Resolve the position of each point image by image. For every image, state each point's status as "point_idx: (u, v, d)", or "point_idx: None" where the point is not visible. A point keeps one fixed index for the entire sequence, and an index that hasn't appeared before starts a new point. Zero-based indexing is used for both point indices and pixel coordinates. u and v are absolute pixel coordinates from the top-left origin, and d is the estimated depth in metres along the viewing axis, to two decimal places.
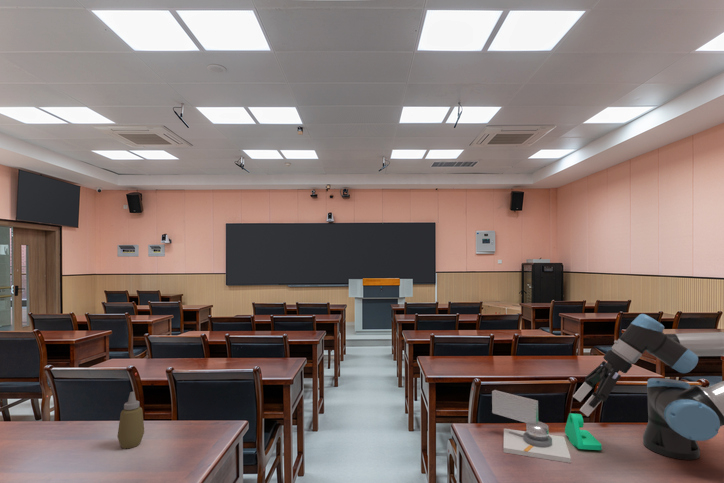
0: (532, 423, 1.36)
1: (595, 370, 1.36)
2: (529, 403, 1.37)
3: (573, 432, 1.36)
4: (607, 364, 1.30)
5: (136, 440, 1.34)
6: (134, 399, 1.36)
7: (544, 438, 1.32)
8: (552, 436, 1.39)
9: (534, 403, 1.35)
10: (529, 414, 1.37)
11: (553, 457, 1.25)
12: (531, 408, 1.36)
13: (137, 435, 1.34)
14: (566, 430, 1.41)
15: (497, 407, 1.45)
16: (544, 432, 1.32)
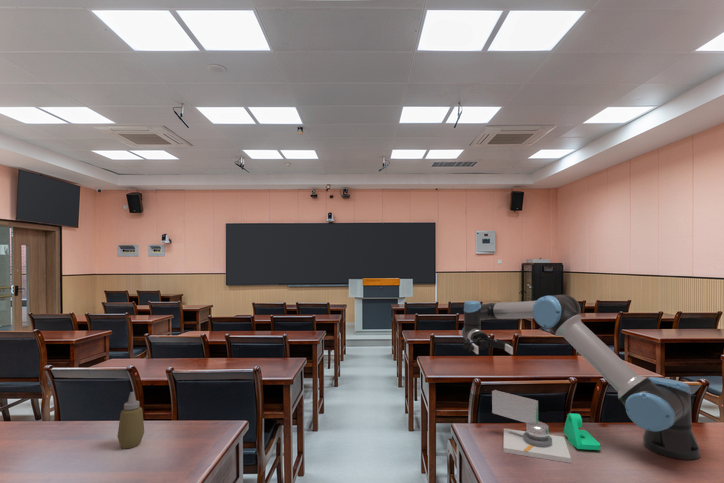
0: (532, 423, 1.36)
1: None
2: (529, 403, 1.37)
3: (571, 431, 1.36)
4: None
5: (136, 440, 1.34)
6: (134, 399, 1.36)
7: (544, 438, 1.32)
8: (552, 436, 1.39)
9: (534, 403, 1.35)
10: (529, 414, 1.37)
11: (553, 457, 1.25)
12: (531, 408, 1.36)
13: (137, 435, 1.34)
14: (565, 430, 1.41)
15: (497, 407, 1.45)
16: (544, 432, 1.32)
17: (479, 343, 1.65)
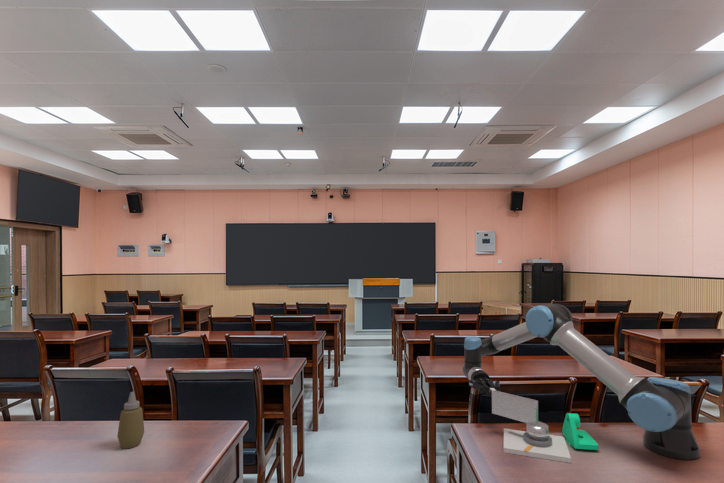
0: (532, 423, 1.36)
1: None
2: (529, 403, 1.37)
3: (569, 431, 1.36)
4: None
5: (136, 440, 1.34)
6: (134, 399, 1.36)
7: (544, 438, 1.32)
8: (552, 436, 1.39)
9: (534, 403, 1.35)
10: (529, 414, 1.37)
11: (553, 457, 1.25)
12: (531, 408, 1.36)
13: (137, 435, 1.34)
14: (564, 430, 1.42)
15: (497, 407, 1.45)
16: (544, 432, 1.32)
17: None
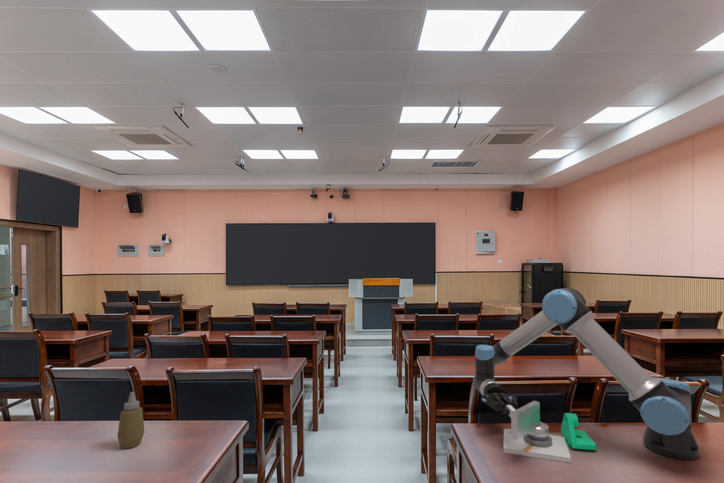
0: (538, 425, 1.34)
1: None
2: (536, 407, 1.34)
3: (567, 431, 1.36)
4: None
5: (136, 440, 1.34)
6: (134, 399, 1.36)
7: None
8: (552, 436, 1.39)
9: (539, 404, 1.35)
10: (536, 418, 1.33)
11: (553, 457, 1.25)
12: (537, 410, 1.34)
13: (137, 435, 1.34)
14: (562, 430, 1.42)
15: (520, 429, 1.26)
16: None
17: None
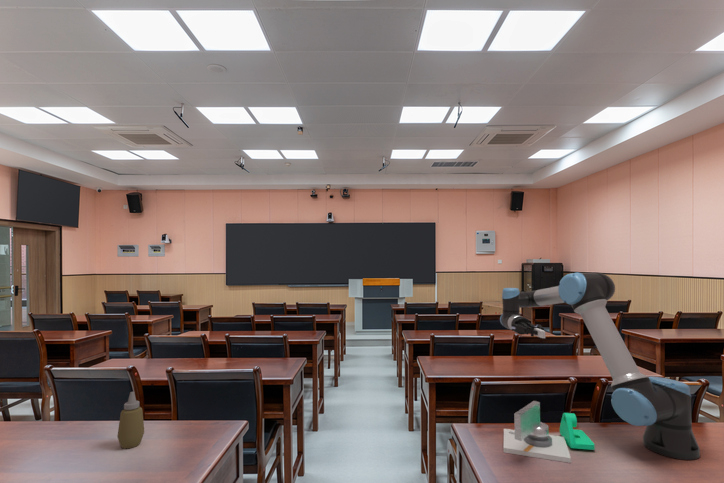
0: (538, 425, 1.34)
1: None
2: (537, 407, 1.34)
3: (566, 431, 1.36)
4: None
5: (136, 440, 1.34)
6: (134, 399, 1.36)
7: None
8: (552, 436, 1.39)
9: (539, 404, 1.35)
10: (537, 418, 1.33)
11: (553, 457, 1.25)
12: (538, 410, 1.34)
13: (137, 435, 1.34)
14: (561, 429, 1.42)
15: (523, 430, 1.25)
16: None
17: None
